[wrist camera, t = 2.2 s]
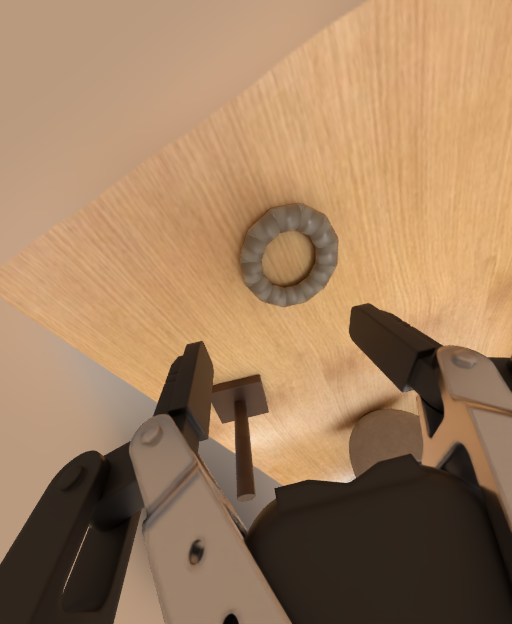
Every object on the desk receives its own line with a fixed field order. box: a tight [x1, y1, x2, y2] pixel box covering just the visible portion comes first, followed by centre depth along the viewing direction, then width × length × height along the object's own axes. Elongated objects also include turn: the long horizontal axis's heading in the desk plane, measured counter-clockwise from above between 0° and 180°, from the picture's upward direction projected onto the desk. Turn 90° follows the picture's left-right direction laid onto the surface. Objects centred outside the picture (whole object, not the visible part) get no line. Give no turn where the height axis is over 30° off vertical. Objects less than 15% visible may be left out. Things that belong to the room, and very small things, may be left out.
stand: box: [211, 375, 269, 501], centre depth 27 cm, size 9×9×14 cm
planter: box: [349, 409, 423, 478], centre depth 34 cm, size 18×7×19 cm, turn 128°
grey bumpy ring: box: [239, 203, 338, 307], centre depth 21 cm, size 11×11×2 cm
